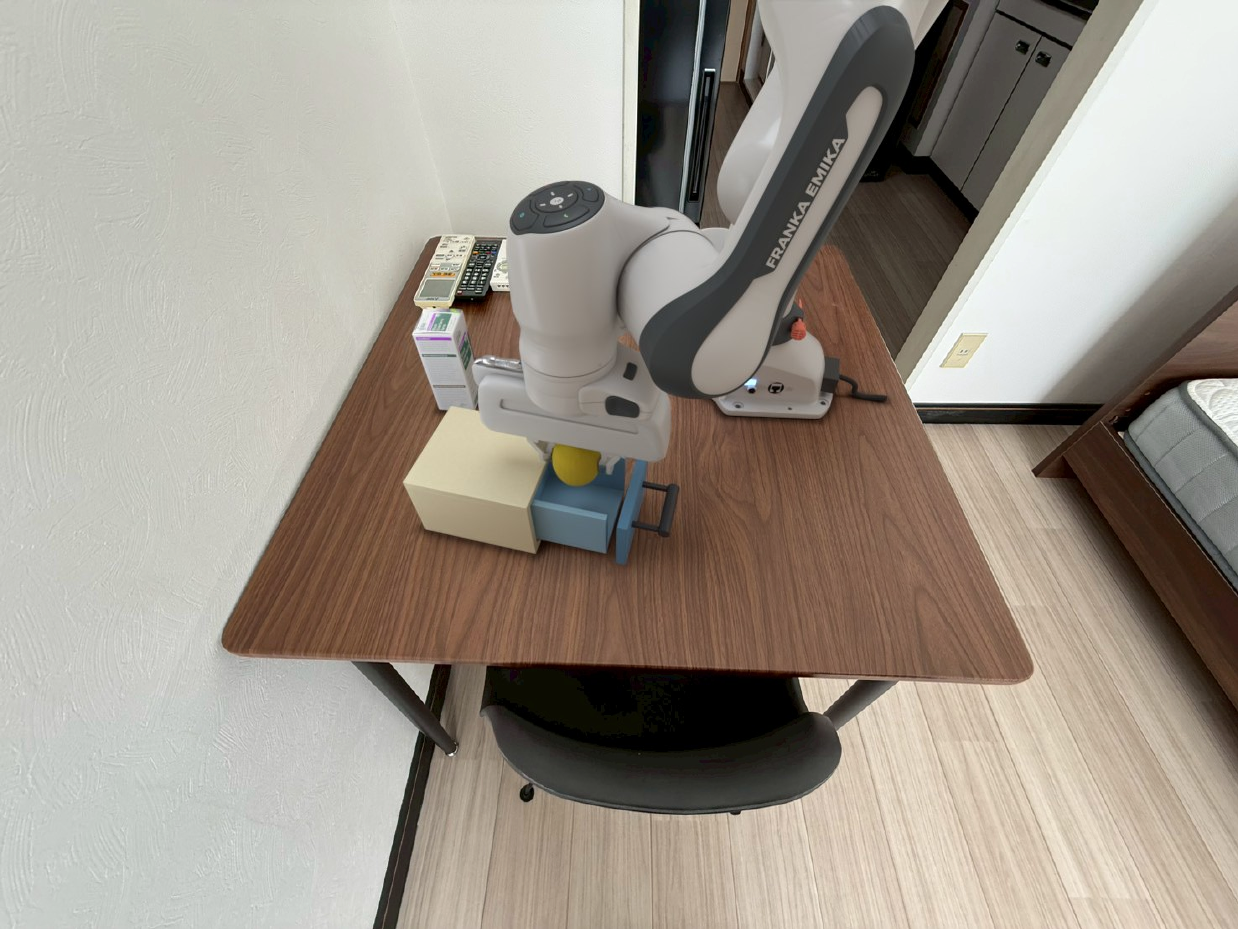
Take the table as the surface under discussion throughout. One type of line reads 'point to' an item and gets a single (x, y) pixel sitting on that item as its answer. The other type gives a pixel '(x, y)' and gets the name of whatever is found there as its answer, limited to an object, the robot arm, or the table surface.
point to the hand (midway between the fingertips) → (577, 463)
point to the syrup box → (447, 357)
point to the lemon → (575, 464)
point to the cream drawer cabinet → (477, 482)
